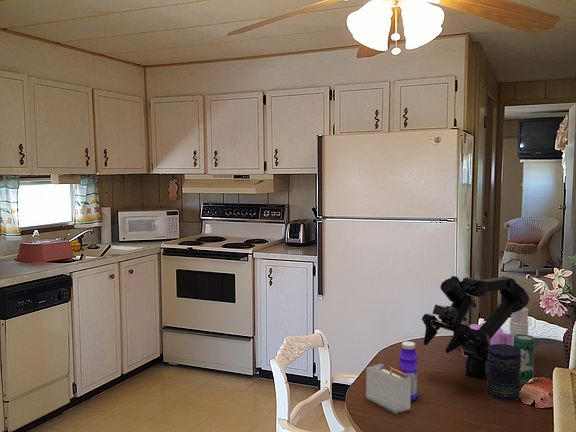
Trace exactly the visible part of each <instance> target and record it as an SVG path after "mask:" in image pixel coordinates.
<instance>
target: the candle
mask: <svg viewBox="0 0 576 432" xmlns="http://www.w3.org/2000/svg"><path fill="white" fill-rule="evenodd" d="M529 310H530V309H529V308H527V307H526V306H525V307H524V308H523V309H522V310H520V311H517V312H514V313H512V314H511V316H510V320H509V332H510V333H509V334H512V338H513V346H514V336H515V335H518V334H523V335H524V334H525V335H528V334H529V322H528V318H529Z"/></svg>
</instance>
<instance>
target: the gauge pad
mask: <svg viewBox="0 0 576 432" xmlns="http://www.w3.org/2000/svg"><path fill="white" fill-rule="evenodd" d="M381 371H383V372H385V373H387V374H389V375H392V376H394V377H396V378H398V377H400V376H399V375H398V374H401V375H404V376H406V374H405V373H403V372H400V371H399V370H398V369H396V368H393V367H389V370H387V369H386V368H384V369H382V370H381ZM393 372H394V373H393ZM396 373H397V374H396Z"/></svg>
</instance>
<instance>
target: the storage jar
mask: <svg viewBox="0 0 576 432" xmlns="http://www.w3.org/2000/svg"><path fill="white" fill-rule="evenodd" d="M520 354H521V350H520V349H519V348H517V347H515V346H511V345H507V343H505V344H493V345H490V346H489V347H488V361H487V362H488V376H487V377H486V380H487V381H486V388H487V389H486V394H487V396H489V398H492V399H494V400H497V401H499V402H500V401H501V402H515V401H518V400H520V398H519V395H520V392H521V383H520V379H519V374H520V368H521V355H520Z"/></svg>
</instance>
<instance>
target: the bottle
mask: <svg viewBox="0 0 576 432" xmlns="http://www.w3.org/2000/svg"><path fill="white" fill-rule="evenodd" d="M398 358H399V359H400V360H399V364H398V366H399V370H398V371H400V372H403V373H405V374H406V375H409V376H410V377H411V396H410V401H415V400H416V399H417V397H418V368H419V367H418V358H419V357H418V354H417V352H416V343H415V342H413V341H403V342H402V343H401V352H400V354H399V356H398ZM398 374H399V373H398ZM398 376H400V377H401V376H404V375H401V374H399V375H398Z"/></svg>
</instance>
